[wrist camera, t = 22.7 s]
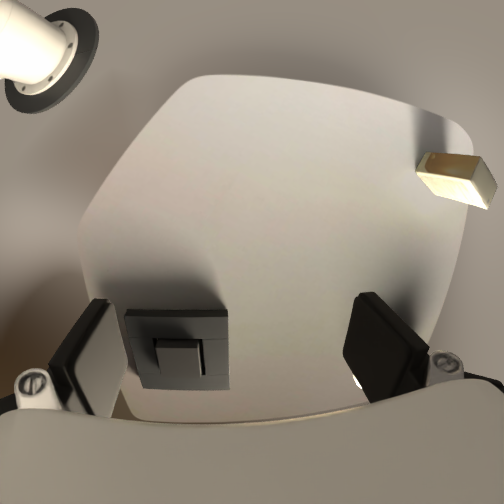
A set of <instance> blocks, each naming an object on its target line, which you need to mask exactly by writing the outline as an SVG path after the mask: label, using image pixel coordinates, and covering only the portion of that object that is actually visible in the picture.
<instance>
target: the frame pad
mask: <svg viewBox="0 0 504 504" xmlns="http://www.w3.org/2000/svg"><path fill="white" fill-rule="evenodd" d="M124 319H125V323H126V328H127V332H128V336H129V340H130V344H131V348H132V352H133V356H134V359H135V363H136V367H137V370H138V373H139V377H140V380H141V383H142V386H143V388H146V389H162V390H230V375H229V338H228V310H143V309H127V311H126V313H125V315H124ZM156 338H165V339H202V342H203V353H204V364H205V367H202V369H201V378H162V375H161V371H160V367H159V362H158V358H157V353H156V348H155V347H156V343H157V341H156Z"/></svg>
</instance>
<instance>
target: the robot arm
mask: <svg viewBox="0 0 504 504" xmlns="http://www.w3.org/2000/svg"><path fill="white" fill-rule="evenodd" d="M77 45H78V34H77V31H76V29H75V27H74V26H73V25H71V24H70V23H69V22H66V21H55V22H51V23H50V22H49V21H48V20H46V19H45V18H43V17H42V16H40V15H39V14H37V13H36V12H34V11H33V10H31V9H30V8H28V7H27V6H25V5H24V4H22V3H20V2H19V1H17V0H0V80H1V79H3V78H6V79H10V80H13V82H14V85H15V87H16V89H17V90H18V91H19V92H20V93H23V94H27V95H36V94H38V93H41V92H43V91H45V90H47V89H48V88H50V87H51V86H52V85H53V84H54V83H56V82H57V81H58V80H59V79H60V77H61V76H62V75H63V74H64V73H65V71H66V70H67V68H68V67H69V65H70V63H71V61H72V60H73V58H74V55H75V52H76V49H77ZM428 350H429V346H428V345H427V344H426V343H425V342H424V341H423V340H422V339H421V338H420V337H419V336H418V335H417V334H416V333H415V332H414V331H413V329H412V328H411V327H410V326H409V325H408V324H407V323H406V322H404V321H403V320H402V319H401V318H400V317H399V316H398V315H397V314H396V313H395V312H394V311H393V310H392V309H391V308H390V307H389V306H388V305H387V304H386V303H385V302H384V301H383V300H382V299H381V298H380V297H379V296H378V295H377V294H376V293H374V292H364V293H360V294H359V295H358V297H356V298H355V300H354V304H353V309H352V314H351V318H350V323H349V327H348V331H347V335H346V339H345V344H344V347H343V357H344V359H345V361H346V362H347V364H348V366H349V368H350V369H351V371H352V373H353V374H354V376H355V378H356V379H357V381H358V383H359V385H360V386H361V388H362V390H363V391H364V393H365V395H366V397H367V398H368V400H369V402H370V404H367V405H363V406H358V407H354V408H349V409H345V410H340V411H335V412H330V413H325V414H319V415H313V416H307V417H300V418H293V419H285V420H277V421H268V422H256V423H240V424H210V425H209V424H207V425H197V424H196V425H193V424H165V423H151V422H139V421H130V420H121V419H113V418H111V415H112V412H113V408H114V405H115V402H116V399H117V396H118V393H119V390H120V386H121V383H122V380H123V377H124V375H125V372H126V369H127V365H128V359H127V355H126V352H125V348H124V344H123V341H122V337H121V333H120V329H119V325H118V320H117V316H116V312H115V307H114V304H113V303H110V301H109V300H108V299H97V298H94V299H93V300H92V301H91V303H90V304H89V306H88V307H87V308H86V309H85V311H84V312H83V314H82V315H81V316H80V318H79V319H78V321H77V322H76V323H75V325H74V326H73V328H72V329H71V330H70V332H69V333H68V335H67V336H66V338H65V339H64V340H63V342H62V343H61V345H60V346H59V348H58V350H57V351H56V352H55V354H54V356H53V357H52V359H51V360H50V362H49V363H48V365H49V368H48V370H47V371H45V370H42V369H37V368H36V369H35V368H34V369H29V370H27V371H25V372H23V373H22V374H20V375H19V377H18V378H17V379H16V382H15V384H14V390H15V393H14V394H11V395H9V396H6V397H4V398H1V399H0V504H504V386H503V384H502V383H501V382H500V381H498V380H494V379H491V378H487V377H483V376H479V375H475V374H471V373H467V372H464V368H463V363H462V361H461V360H460V358H459V357H457V356H456V355H454V354H453V353H451V352H448V351H442V350H440V351H435V352H433V353H432V354H431V355H430V356H429V355H428V354H427V352H428Z"/></svg>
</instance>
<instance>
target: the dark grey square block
mask: <svg viewBox="0 0 504 504" xmlns="http://www.w3.org/2000/svg"><path fill="white" fill-rule="evenodd" d="M155 348H156V353H157V358H158V362H159V367H160V371H161V375H162V378H201V369H202V363H201V353H200V343H199V339H165V338H158V340H157V343H156V347H155Z"/></svg>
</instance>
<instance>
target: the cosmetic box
mask: <svg viewBox="0 0 504 504" xmlns="http://www.w3.org/2000/svg"><path fill="white" fill-rule="evenodd" d="M415 172H416V173H417V175H418V176H419V177H420V178H421V179H422V180H423V182H424V183H425V184H426V185H427V186H428V187H429V188H430V189H431V191H432V192H433V193H434V194H435V195H438V196H442V197H446V198H450V199H454V200H457V201H461V202H464V203H468V204H471V205H475V206H478V207H481V208H484V209H488V207H489V205H490V203H491V201H492V199H493V197H494V194H495V192H496V189H497V184H496V181H495V179H494V178H493V176H492V174H491V172H490V170H489V169H488V167H487V166H486V164H485V162H484V161H483V159H482V158H481V157H480V156H470V155H460V154H448V153H432V152H426V153H425V155H424V157H423V158H422V160H421V162H420V163H419V165H418V167H417V169H416V171H415Z"/></svg>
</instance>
